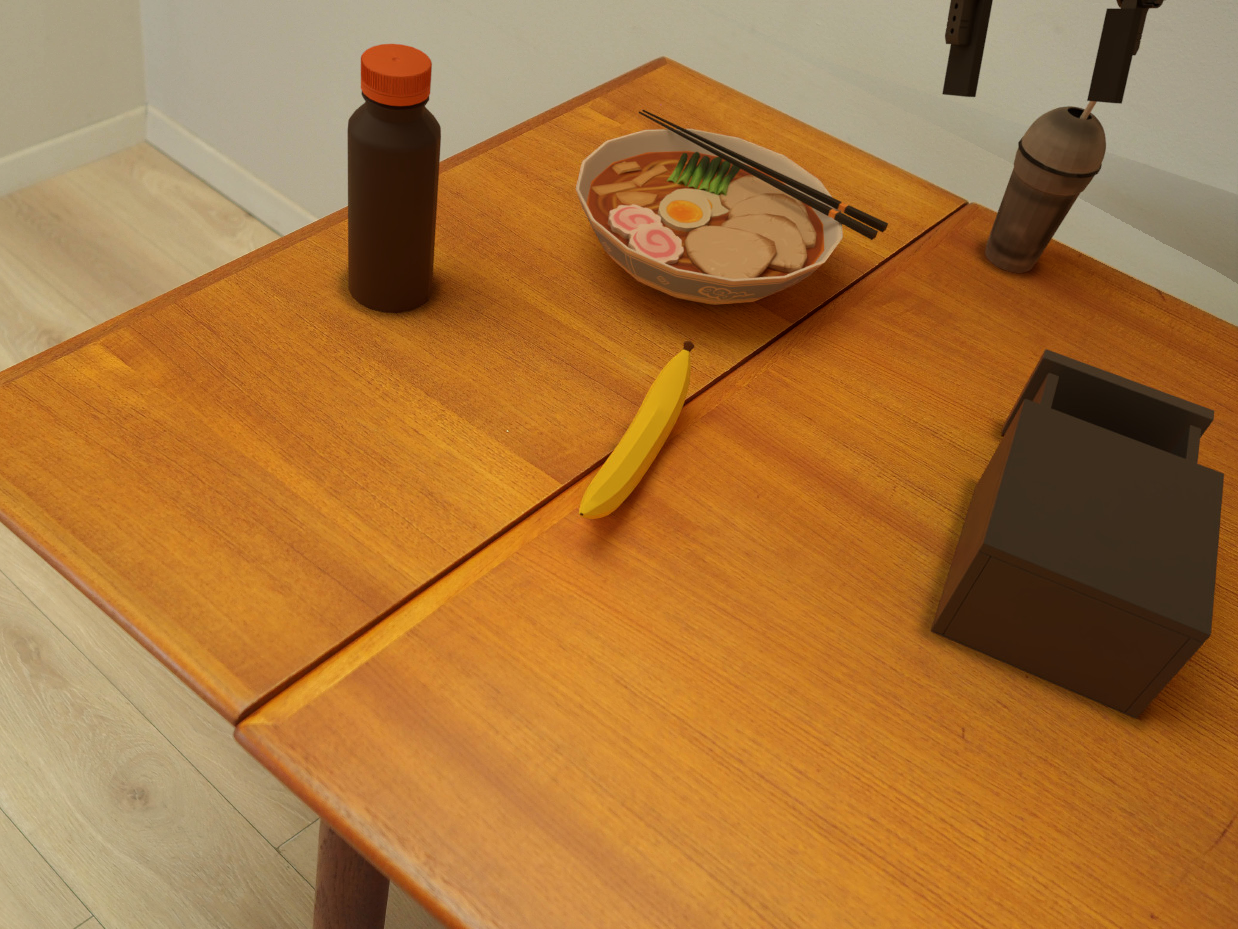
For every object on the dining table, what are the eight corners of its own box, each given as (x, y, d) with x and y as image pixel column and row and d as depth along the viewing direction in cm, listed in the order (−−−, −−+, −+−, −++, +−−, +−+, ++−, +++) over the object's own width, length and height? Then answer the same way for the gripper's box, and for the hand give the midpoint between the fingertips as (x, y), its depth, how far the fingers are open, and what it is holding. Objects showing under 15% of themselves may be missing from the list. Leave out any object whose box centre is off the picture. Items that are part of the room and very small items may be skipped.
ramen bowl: (500, 253, 101) (510, 169, 95) (659, 167, 114) (676, 89, 108) (732, 400, 92) (759, 317, 86) (876, 288, 105) (908, 209, 99)
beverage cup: (1021, 241, 113) (1120, 41, 99) (1058, 286, 109) (1167, 84, 94) (954, 242, 112) (1045, 39, 97) (989, 289, 107) (1089, 83, 92)
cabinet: (971, 493, 88) (1024, 398, 81) (1153, 565, 85) (1224, 473, 78) (926, 637, 78) (983, 542, 71) (1131, 725, 75) (1211, 635, 68)
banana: (551, 555, 78) (563, 490, 74) (656, 397, 91) (672, 333, 86) (590, 572, 78) (605, 508, 73) (690, 411, 90) (708, 347, 85)
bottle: (330, 290, 95) (326, 54, 80) (391, 259, 99) (397, 28, 84) (389, 331, 92) (395, 94, 78) (448, 297, 96) (465, 65, 81)
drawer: (1012, 395, 95) (1053, 319, 89) (1165, 453, 92) (1218, 378, 87) (967, 542, 83) (1012, 464, 77) (1142, 613, 80) (1202, 539, 75)
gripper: (1191, -205, 85) (1122, 101, 93) (910, -253, 77) (861, 89, 85) (1283, -223, 79) (1200, 108, 87) (988, -277, 70) (926, 96, 78)
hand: (1033, 100), depth 86 cm, fingers open, 13 cm apart
